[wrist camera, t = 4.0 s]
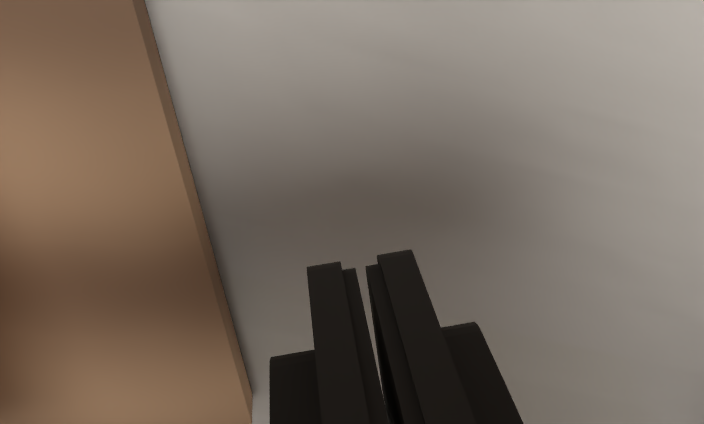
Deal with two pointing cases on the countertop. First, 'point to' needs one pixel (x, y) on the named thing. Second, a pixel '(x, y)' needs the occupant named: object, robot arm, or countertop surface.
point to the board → (103, 232)
